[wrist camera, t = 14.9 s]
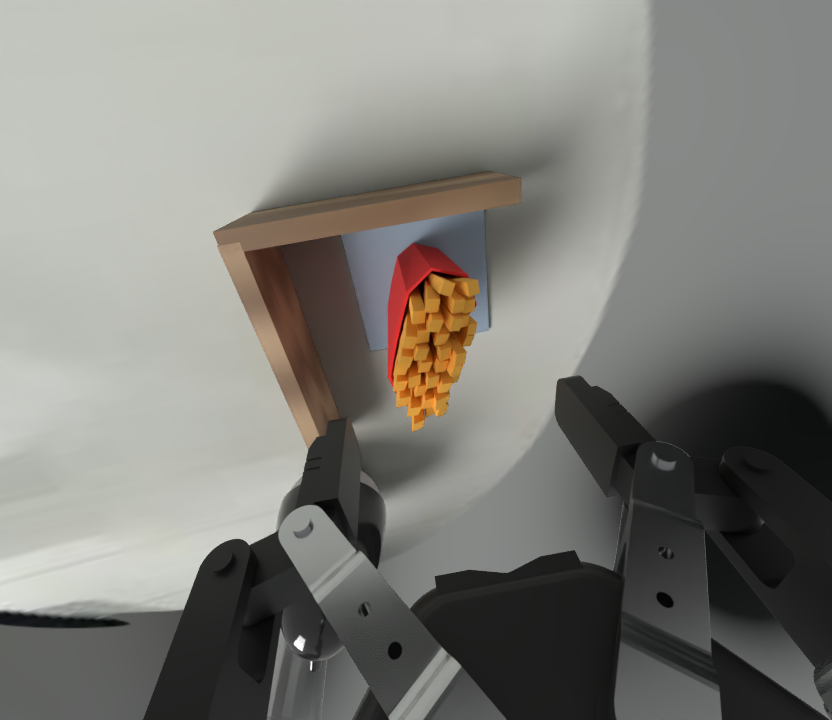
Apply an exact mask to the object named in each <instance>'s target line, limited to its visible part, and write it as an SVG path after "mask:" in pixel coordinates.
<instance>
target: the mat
mask: <svg viewBox="0 0 832 720" xmlns="http://www.w3.org/2000/svg"><path fill="white" fill-rule="evenodd" d="M341 238H342V242H343V246H344V250H345V254H346V257H347V261H348V265H349V269H350V273H351V277H352V281H353V285H354V289H355V293H356V297H357V301H358V304H359V308H360V312H361V316H362V320H363V324H364V328H365V332H366V336H367V340H368V344H369V347H370V351H375V350H381V349H386V348H388V311H387V307H388V300H389V293H390V288H391V282H392V277H393V272H394V268H395V264H396V259H397V256H398V255H399V254H400V253H402V252H403V251H404V250H405V249H406V248H407V247H409V246H410V245H411V244H412V243H415V244H420V245H424V246H429V247H434V248H438V249H439V250H440V251H442V252H443V253H444V254H445V255H446V256H447V257H448V258H449V259H451V260H452V261H453V262H454V263H455V264H456V265H457V266H459V267H460V268H461V269H462V270H463V271H464V272H465V273H467V274H468V276H469V278H470V279H477V280H478V283H479V292H480V293H479V294H476V295H474V296H475V300H476V303H477V306H476V307H475V310H474V312H471V313H470V314H469V315H470V316H471V317H472V318H473V319H474V320H475V321H476V322H477V323H478V324H477V329H476V333H478V332H484V331H489V321H488V296H487V270H486V244H485V218H484V210H479V211H474V212H468V213H462V214H457V215H451V216H445V217H439V218H434V219H428V220H422V221H417V222H411V223H405V224H399V225H394V226H388V227H382V228H377V229H371V230H365V231H359V232H354V233H348V234H342V235H341Z"/></svg>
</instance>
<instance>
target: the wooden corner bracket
mask: <svg viewBox="0 0 832 720" xmlns="http://www.w3.org/2000/svg"><path fill="white" fill-rule="evenodd" d="M520 190H521V178H518V177H514V176H509V175H504V174H500V173H495V172H491V171H487V172H481V173H475V174H470V175H464V176H458V177H453V178H447V179H441V180H435V181H430V182H424V183H418V184H413V185H407V186H401V187H395V188H390V189H384V190H378V191H373V192H367V193H361V194H356V195H350V196H344V197H338V198H333V199H327V200H321V201H316V202H310V203H304V204H298V205H293V206H287V207H281V208H276V209H270V210H264V211H259V212H253V213H249V214H247V215H245V216H243V217H241V218H239V219H237V220H235V221H233V222H231V223H229V224H227V225H226V226H224V227H222V228H220V229H218V230H216V231H214V232H213V234H214V236H215V238H216V241H217V243H218V246H217V247H218V250H219V252H220V254H221V256H222V258H223V261H224V263H225V265H226V267H227V270H228V272H229V274H230V276H231V278H232V281H233V283H234V285H235V287H236V290H237V292H238V294H239V296H240V298H241V301H242V303H243V305H244V307H245V310H246V312H247V314H248V316H249V319H250V321H251V323H252V325H253V327H254V330H255V332H256V334H257V336H258V339H259V341H260V343H261V345H262V347H263V350H264V352H265V354H266V356H267V359H268V361H269V363H270V365H271V368H272V370H273V372H274V374H275V376H276V379H277V381H278V383H279V385H280V388H281V390H282V392H283V394H284V396H285V399H286V401H287V403H288V405H289V408H290V410H291V412H292V414H293V416H294V419H295V421H296V423H297V425H298V428H299V430H300V432H301V434H302V437H303V439H304V441H305V443H306V445H307V448H308V450H309V447H310V446H311V444H312V443H313V442H314V440H315V439H316V437H319V436H325V435H326V430H327V425H328V422H329V421H331V420H336V419H340V416H339V414H338V411H337V408H336V405H335V402H334V399H333V397H332V394H331V391H330V388H329V385H328V382H327V380H326V377H325V374H324V371H323V368H322V366H321V363H320V360H319V357H318V354H317V351H316V349H315V346H314V343H313V340H312V337H311V334H310V332H309V329H308V326H307V323H306V320H305V318H304V315H303V312H302V309H301V306H300V303H299V301H298V298H297V295H296V292H295V289H294V286H293V284H292V281H291V278H290V275H289V272H288V270H287V267H286V264H285V261H284V258H283V255H282V253H281V250H280V247H279V245H285V244H291V243H297V242H302V241H308V240H314V239H319V238H325V237H331V236H337V235H342V234H348V233H354V232H359V231H365V230H371V229H377V228H382V227H388V226H394V225H399V224H405V223H411V222H417V221H422V220H428V219H434V218H439V217H445V216H451V215H457V214H462V213H468V212H474V211H479V210H485V209H491V208H497V207H502V206H508V205H514V204H519V203H520Z"/></svg>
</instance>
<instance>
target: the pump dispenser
mask: <svg viewBox="0 0 832 720" xmlns="http://www.w3.org/2000/svg"><path fill="white" fill-rule="evenodd" d="M301 481H302V477H301V478H300V479H299V480H298V481H297V482H296V484H295V485H294V486H293V488H292V489H291V491H290V492H289V493H288V494H287V495H286V496H285V497H284V499H283V501H282V503H281V506H280V510H279V514H278V519H277V526H276V532H277V531H278V530H279V529H280V526H281V524H282V522H283V521H284V520H285V518H286V517H287V516H288V515H289V514H290V513H291V512H293V511H294V510H295V507H296V503H297V498H298V494H299V489H300V485H301ZM385 524H386V507H385V503H384V500H383V498H382V497H381V496H380V493H379V490H378V488H377V486H376V484H375V483H374V481H373V480H372V479H371V478H370V477H369V476H368V475H367V474H366V473H364V472H363V471H361V474H360V494H359V515H358V535H357V543H352V544H351V545H352V546H353V547H354V549H355V550H356V551H358V550H360V551H361V552H362V553H363V554H364V555H365V556H366V557H367V558H368V560H369V561H370V562H371V563H372V564H373V566H374V567H375V568H376V569H378V565H379V560H380V556H381V551H382V545H383V539H384V532H385ZM281 631H282V634H283V637H284V639H285V642H286V644H287V646H288V647H289V649H290V650H291V651H292V652H293V653H294V654H295V655H296V656H298V657H300V658H301V659H304V660H307V661H308V669H309V670H310V671H311V672H316V671H318V670H319V669H320V667H321V665H322V660H326V659H328V658H330V657H332V656H334V655H335V654H337V653H338V652H340V651H341V650H342V649H343V648H344V645H343V644H342V642H341V640H340V639H339V637H338V636H337V634H336V632H335V631H334V629H333V628H332V626H331V624H330V623H329V621H328V619H327V618H326V616H325V615H324V613H323V611H322V610H321V608H320V606H319V605H318V603H317V602H316V600H315V598H314V597H313V595H312V594H310V595H308V596H306V597H305V598H303V599H301V600H299V601H298V602H296V603H294V604H292V605H290V606H289V607H287V608H285V609H283V615H282V622H281Z"/></svg>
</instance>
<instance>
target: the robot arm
mask: <svg viewBox="0 0 832 720" xmlns="http://www.w3.org/2000/svg"><path fill="white" fill-rule="evenodd" d="M555 416H556V420H557V422H558V425H559V426H560V428H561V429H562V431H563V432H564V434H565V435H566V437H567V438H568V440H569V441H570V443H571V444H572V446H573V447H574V449H575V450H576V452H577V453H578V455H579V456H580V458H581V459H582V461H583V462H584V464H585V465H586V467H587V468H588V470H589V471H590V473H591V474H592V476H593V477H594V479H595V480H596V482H597V483H598V485H599V486H600V488H601V489H602V491H603V492H604V494H605V495H606V497H610V496H615V495H620V496H621V498H622V499H623V501H624V503H623V507H622V515H621V522H620V529H619V537H618V544H617V551H616V558H615V563H614V568H613V571H611V570H609V569H607V568H604V567H602V566H599V565H595V564H592V563H587V562H580V560H579V558H578V556H577V554H576V552H575V551H574V550H573V551H567V552H562V553H557V554H552V555H546V556H541V557H539V558H537V559H535V560H533V561H531V562H529V563H527V564H525V565H523V566H521V567H519V568H517V569H515V570H514V571H511V572H509V573H499V572H487V571H476V570H466V571H461V572H456V573H450V574H445V575H439V576H435V581H436V588H434V589H432V590H430V591H429V592H428V593H426V594H425V595H423V596H422V597H421V598H420V599H419V600H418V601H417V602H416V603H415V604H414V605H413V606H412V607H411V608H410V609H409V607H408V606H407V605H406V604H405V603H404V601H403V600H402V599H401V598H400V597H399V595H398V594H397V593H396V592H395V591H394V589H393V588H392V587H391V586H390V585H389V584H388V583H387V581H386V580H385V579H384V578H383V576H382V575H381V574H380V573H379V572H378V570H377V569H376V568H375V567H374V566H373V564H372V563H371V562H370V561H369V560H368V558H367V557H366V556H365V555H364V554H363V553H362V552H361V551H360V550H358V551H356V550H355V549H354V547H353V546H352V545H351V544H352V543H357V535H358V515H359V494H360V474H361V454H360V448H359V445H358V442H357V439H356V436H355V433H354V430H353V427H352V424H351V421H350V419H349V418H348V417H347V418H342V419H336V420H331V421H329V422H328V425H327V430H326V435H325V436H319V437H316V439H315V440H314V442H313V443H312V444H311V446H310V447H309V450H308V454H307V459H306V461H307V462H306V463H305V467H304V472H303V476H302V481H301V485H300V489H299V494H298V498H297V503H296V507H295V510H294V511H293V512H291V513H290V514H289V515H288V516H287V517H286V518H285V520H284V521H283V522H282V524H281V526H280V529H279V530H278V531H277V532H275V533H273V534H272V535H270V536H268V537H266V538H263V539H261V540H259V541H257V542H255V543H253V544H251V545H248V543H247V542H246V541H244V540H241V539H233V540H229V541H226V542H224V543H222V544H220V545H219V546H217V547H216V548H215V549H214V550H212V551H211V552H210V553H209V554H208V555H207V557H206V558H205V559H204V561H203V562H202V564H201V566H200V568H199V571H198V573H197V576H196V579H195V581H194V584H193V587H192V589H191V592H190V595H189V598H188V600H187V603H186V606H185V608H184V611H183V614H182V616H181V619H180V622H179V625H178V627H177V630H176V633H175V635H174V638H173V641H172V643H171V646H170V649H169V651H168V654H167V657H166V660H165V662H164V665H163V668H162V670H161V673H160V676H159V679H158V681H157V684H156V687H155V689H154V692H153V695H152V697H151V700H150V703H149V705H148V708H147V711H146V714H145V716H144V719H143V720H321V710H322V702H323V691H324V683H325V673H326V663H327V659H326V660H322V665H321V667H320V669H319V670H318V671H316V672H311V671H310V670H309V669H308V661H307V660H304V659H301V658H300V657H298V656H296V655H295V654H294V653H293V652H292V651H291V650H290V649H289V647H288V646H287V644H286V642H285V639H284V637H283V634H282V631H281V622H282V615H283V609H285V608H287V607H289V606H290V605H292V604H294V603H296V602H298V601H299V600H301V599H303V598H305V597H306V596H308V595H310V594H312V595H313V597H314V598H315V600H316V602H317V603H318V605H319V606H320V608H321V610H322V611H323V613H324V615H325V616H326V618H327V619H328V621H329V623H330V624H331V626H332V628H333V629H334V631H335V632H336V634H337V636H338V637H339V639H340V640H341V642H342V644H343V645H344V647H345V649H346V650H347V652H348V653H349V655H350V657H351V658H352V660H353V661H354V663H355V665H356V666H357V668H358V670H359V671H360V673H361V674H362V676H363V677H364V679H365V681H366V683H367V684H368V686H369V687H368V689H367V691H366V693H365V695H364V697H363V699H362V701H361V703H360V705H359V707H358V709H357V711H356V713H355V715H354V717H353V719H352V720H829V719H828V718H826V717H825V716H824V715H822V714H821V713H819V712H818V711H816V710H815V709H814V708H812V707H811V706H809V705H808V704H806V703H805V702H804V701H802V700H801V699H799V698H798V697H796V696H795V695H794V694H792V693H791V692H789V691H787V690H786V689H785V688H783V687H782V686H780V685H779V684H778V683H776V682H775V681H773V680H772V679H770V678H769V677H768V676H766V675H765V674H763V673H762V672H760V671H759V670H757V669H756V668H755V667H753V666H752V665H750V664H749V663H747V662H746V661H744V660H743V659H742V658H740V657H738V656H737V655H736V654H734V653H733V652H731V651H730V650H729V649H727V648H726V647H724V646H723V645H721V644H720V643H718V642H717V641H716V640H714V639H713V638H711V636H710V620H709V603H708V587H707V571H706V554H705V538H704V530H706V531H707V533H708V534H709V535H710V536H711V538H712V539H713V540H714V542H715V543H716V544H717V545H718V547H719V548H720V549H721V550H722V552H723V553H724V554H725V555H726V557H727V558H728V559H729V560H730V562H731V563H732V564H733V565H734V567H735V568H736V569H737V570H738V572H739V573H740V574H741V575H742V577H743V578H744V579H745V580H746V582H747V583H748V584H749V586H750V587H751V588H752V589H753V591H754V592H755V593H756V594H757V595H758V597H759V598H760V599H761V601H762V602H763V603H764V604H765V605H766V607H767V608H768V609H769V611H770V612H771V613H772V614H773V616H774V617H775V618H776V619H777V621H778V622H779V623H780V624H781V626H782V627H783V628H784V629H785V631H786V632H787V633H788V634H789V636H790V637H791V638H792V639H793V641H794V642H795V643H796V644H797V645H798V647H799V648H800V649H801V651H802V652H803V653H804V654H805V655H806V657H807V658H808V659H809V660H810V662H811V663H812V664H813V666H814V667H815V669H814V673H813V678H814V683H815V686H816V689H817V691H818V693H819V695H820V697H821V699H822V700H823V702H824V704H823V705H824V709H825V711H826V713H827V715H828V716H829V717H830V719H831V720H832V503H831V502H830V501H829V500H828V499H826V498H825V497H824V496H823V495H822V494H820V493H819V492H818V491H817V490H816V489H814V488H813V487H812V486H811V485H809V484H808V483H807V482H806V481H805V480H803V479H802V478H801V477H800V476H799V475H797V474H796V473H795V472H793V471H792V470H791V469H790V468H789V467H788V466H786V465H785V464H784V463H783V462H781V461H780V460H779V459H777V458H775V457H774V456H772V455H770V454H768V453H766V452H764V451H761V450H758V449H754V448H749V447H733V448H730V449H728V450H727V451H726V452H725V453H724V456H723V458H722V459H713V458H712V459H711V458H699V457H689V456H688V455H687V454H686V453H685V452H684V451H683V450H681V449H679V448H678V447H676V446H673V445H671V444H668V443H664V442H658V441H656V440H655V439H654V438H653V437H652V436H651V435H650V434H649V433H648V432H647V430H646V429H645V428H644V427H642V425H641V424H640V423H639V422H638V421H637V420H636V419H635V418H634V417H633V416H632V415H631V414H630V413H629V412H627V410H626V409H625V408H624V407H623V406H622V405H620V404H619V402H618V401H617V400H616V399H615V398H614V397H613V396H612V394H610V393H609V392H607V391H605V390H603V389H602V388H600V387H598V386H594V387H591V386H590V385H589V384H588V383H587V382H586V381H585V380H584V379H583V378H582V377H581V376H572V377H567V378H561V379H558V381H557V387H556V401H555ZM764 522H765V523H766V524H767V525H768V526H769V527H770V528H771V529H772V530H773V531H774V532H775V533H776V534H777V535H778V536H779V537H780V538H781V539H782V540H783V541H784V542H785V543H786V544H787V545H788V547H789V548H790V549H789V548H788V547H787V546H786V545H785V544H784V543H783V542H782V541H781V540H780V539H779V538H778V537H777V536H776V535H775V534H774V533H773V532H772V530H771V529H769V527H768V526H767V525H766V524H765V523H764Z"/></svg>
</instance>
